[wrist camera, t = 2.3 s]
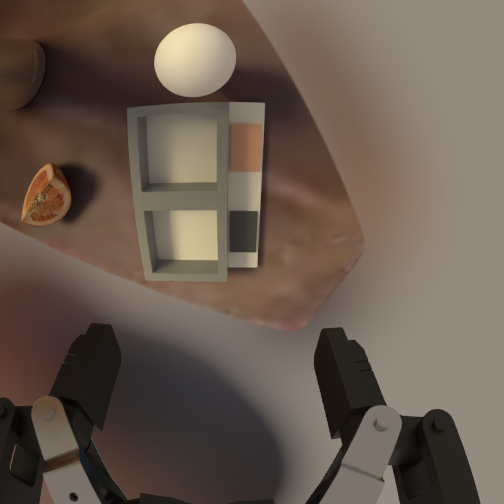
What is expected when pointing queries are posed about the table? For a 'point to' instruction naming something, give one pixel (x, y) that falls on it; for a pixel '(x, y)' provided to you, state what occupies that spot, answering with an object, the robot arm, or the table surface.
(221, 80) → the lightbulb
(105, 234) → the table surface
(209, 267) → the socket board
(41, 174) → the fruit slice
